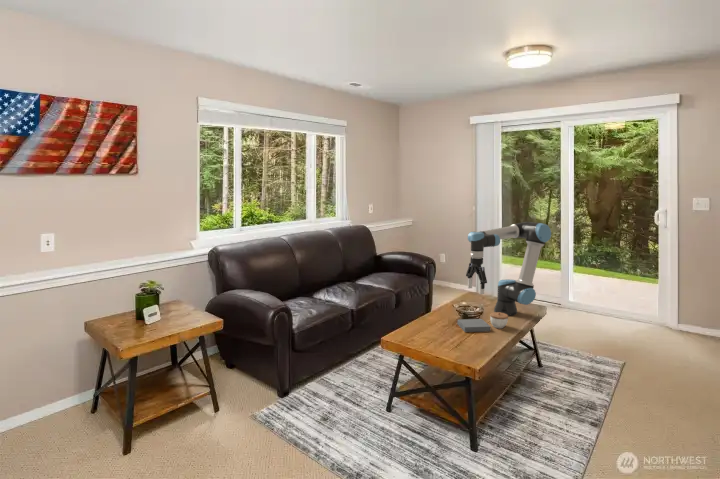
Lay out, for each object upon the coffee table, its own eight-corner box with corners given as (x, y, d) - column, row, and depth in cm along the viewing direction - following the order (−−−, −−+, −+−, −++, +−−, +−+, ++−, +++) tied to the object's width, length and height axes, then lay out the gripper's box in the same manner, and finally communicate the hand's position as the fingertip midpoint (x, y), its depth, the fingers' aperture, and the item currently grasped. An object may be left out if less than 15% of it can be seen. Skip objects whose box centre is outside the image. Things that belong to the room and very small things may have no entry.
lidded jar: (508, 330, 255) (509, 315, 253) (490, 329, 257) (491, 314, 255) (506, 324, 265) (507, 310, 264) (488, 323, 267) (489, 309, 266)
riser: (481, 323, 267) (481, 318, 266) (490, 331, 253) (490, 326, 252) (457, 324, 265) (457, 319, 265) (464, 332, 251) (464, 327, 251)
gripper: (461, 254, 266) (460, 286, 269) (482, 261, 242) (481, 296, 245) (471, 253, 268) (470, 285, 271) (494, 260, 244) (492, 295, 247)
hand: (475, 291), depth 258 cm, fingers open, 13 cm apart
